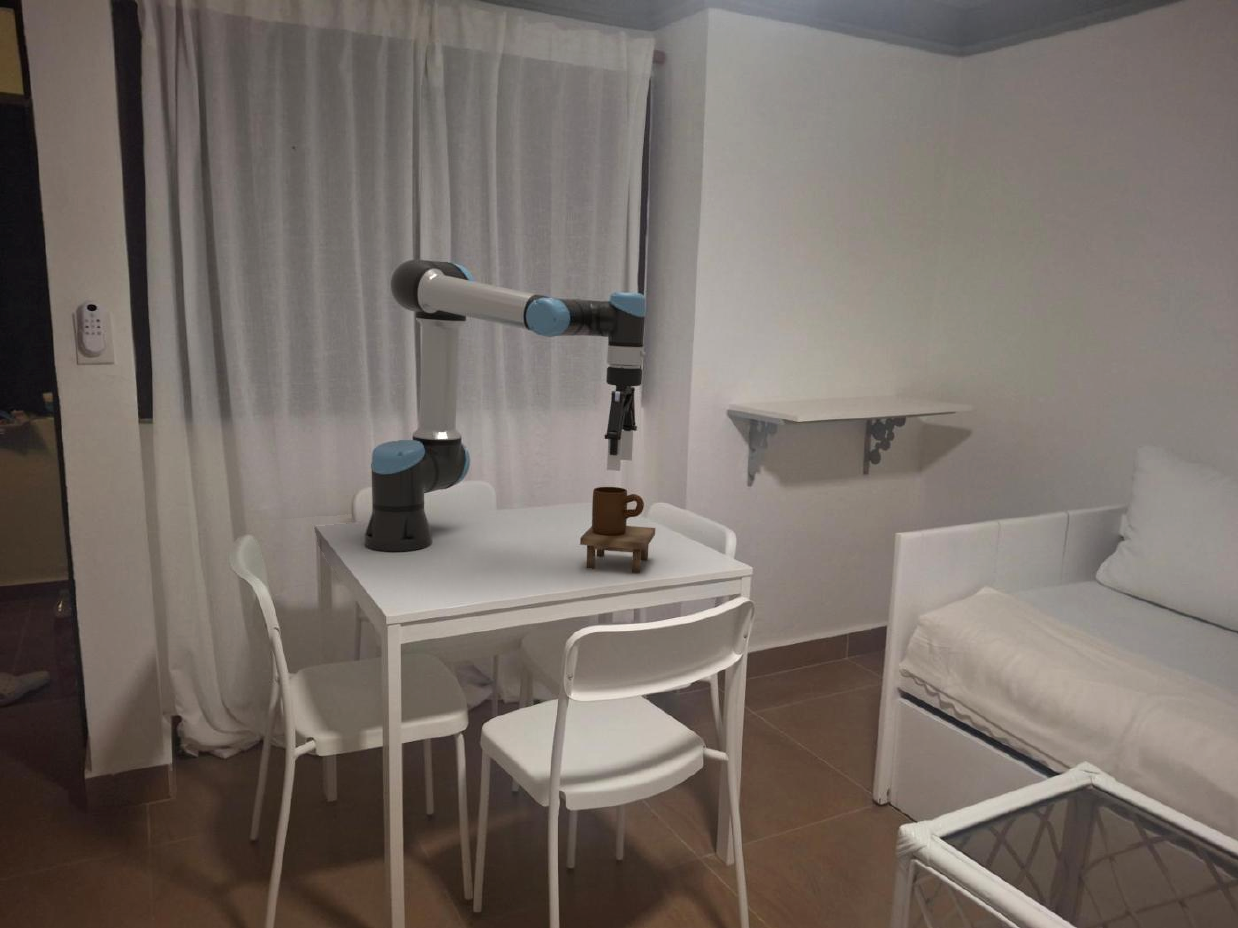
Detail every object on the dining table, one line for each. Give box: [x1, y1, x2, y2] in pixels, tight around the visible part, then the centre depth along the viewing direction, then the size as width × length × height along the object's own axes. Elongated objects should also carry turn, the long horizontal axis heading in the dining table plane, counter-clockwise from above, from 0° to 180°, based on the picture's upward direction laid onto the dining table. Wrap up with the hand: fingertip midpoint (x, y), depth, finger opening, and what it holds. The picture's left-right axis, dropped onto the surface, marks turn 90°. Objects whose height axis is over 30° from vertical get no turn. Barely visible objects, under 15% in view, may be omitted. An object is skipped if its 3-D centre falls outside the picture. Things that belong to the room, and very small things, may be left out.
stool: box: [579, 525, 656, 574], centre depth 198 cm, size 14×14×7 cm
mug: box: [591, 486, 645, 535], centre depth 196 cm, size 12×8×9 cm, turn 62°
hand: (619, 465), depth 195 cm, fingers open, 13 cm apart
